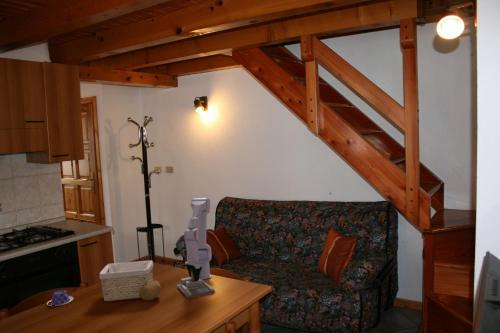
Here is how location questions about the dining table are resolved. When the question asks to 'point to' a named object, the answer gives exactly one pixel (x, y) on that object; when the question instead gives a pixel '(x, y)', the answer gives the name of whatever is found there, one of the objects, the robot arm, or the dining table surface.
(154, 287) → the potato
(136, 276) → the storage basket
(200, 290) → the base
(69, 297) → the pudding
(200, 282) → the press handle
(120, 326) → the dining table surface
